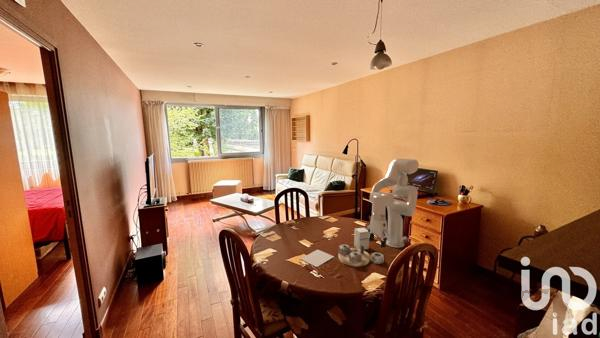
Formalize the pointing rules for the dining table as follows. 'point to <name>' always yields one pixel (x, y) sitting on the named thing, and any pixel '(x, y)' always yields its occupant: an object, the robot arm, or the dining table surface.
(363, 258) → the carrier
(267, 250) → the dining table surface
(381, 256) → the planet gear
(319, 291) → the dining table surface
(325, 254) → the paper stack
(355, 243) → the supplement box
